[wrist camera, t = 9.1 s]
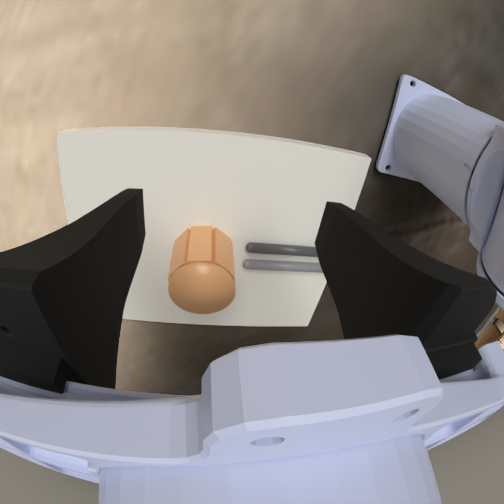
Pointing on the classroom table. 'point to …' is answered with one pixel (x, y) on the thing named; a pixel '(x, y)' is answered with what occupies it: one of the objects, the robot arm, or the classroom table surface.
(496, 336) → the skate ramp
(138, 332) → the classroom table surface
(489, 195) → the robot arm
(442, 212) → the classroom table surface
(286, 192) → the plate
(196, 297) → the wire nut
